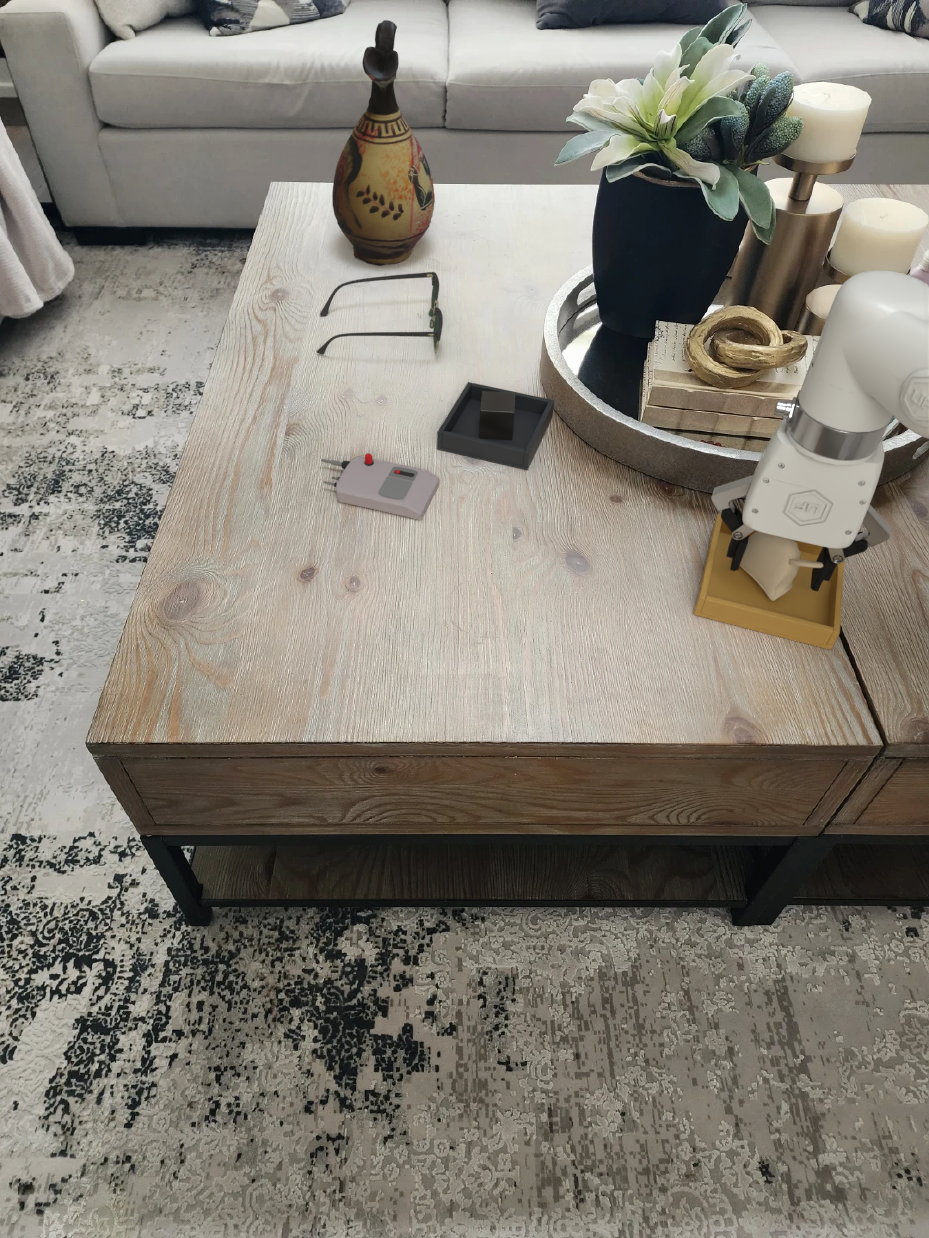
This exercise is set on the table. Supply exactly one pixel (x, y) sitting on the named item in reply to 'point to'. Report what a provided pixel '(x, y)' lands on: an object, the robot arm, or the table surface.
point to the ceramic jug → (383, 169)
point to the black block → (497, 415)
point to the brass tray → (751, 608)
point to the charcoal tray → (519, 452)
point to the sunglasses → (434, 324)
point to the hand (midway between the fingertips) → (774, 570)
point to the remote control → (385, 486)
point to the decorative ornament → (773, 562)
